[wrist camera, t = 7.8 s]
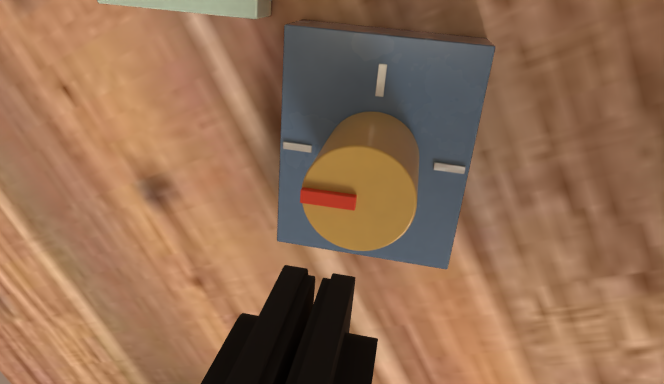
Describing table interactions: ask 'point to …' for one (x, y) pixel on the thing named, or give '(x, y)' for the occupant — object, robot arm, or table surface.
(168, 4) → the green button base
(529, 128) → the table surface
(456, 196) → the valve panel
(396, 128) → the valve knob
